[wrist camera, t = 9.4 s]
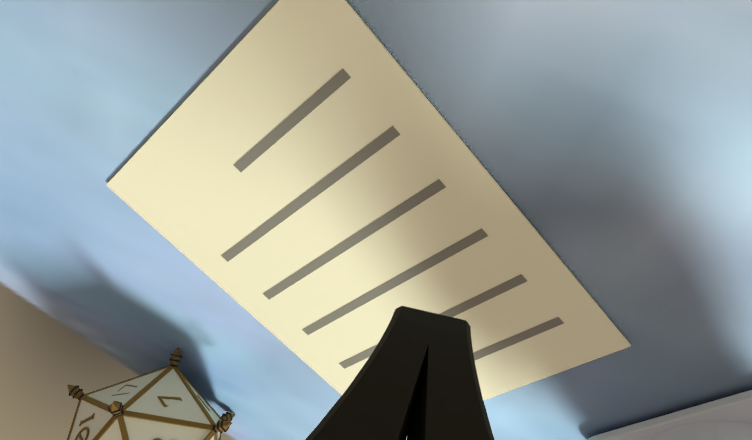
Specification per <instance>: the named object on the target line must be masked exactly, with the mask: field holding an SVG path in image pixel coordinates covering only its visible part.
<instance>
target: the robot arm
mask: <svg viewBox="0 0 752 440" xmlns="http://www.w3.org/2000/svg"><path fill="white" fill-rule="evenodd" d="M406 437H407V440H494V437H493V434H492V431H491V427H490V423H489V420H488V416H487V412H486V409H485V405H484V402H483V398H482V394H481V389H480V385H479V380H478V376H477V371H476V366H475V361H474V355H473V348H472V340H471V326H470V325H469V324H468V322H467V321H466V320H462V319H458V318H454V317H449V316H445V315H441V314H436V313H432V312H428V311H423V310H419V309H414V308H410V307H406V306H400V307H398V308H396V309H395V311H394V314H393V316H392V319H391V321H390V323H389V325H388V327H387V329H386V331H385V332H384V334H383V336H382V338H381V339H380V341H379V343H378V344H377V346H376V347H375V349H374V351H373V352H372V354H371V355H370V357H369V359H368V360H367V361H366V363H365V364H364V366H363V367H362V369H361V370H360V371H359V373H358V374H357V376H356V377H355V378H354V380H353V381H352V383H351V384H350V386H349V387H348V388H347V390H346V391H345V392H344V394H343V395H342V396H341V397H340V399H339V400H338V401H337V402H336V404H335V405H334V406H333V407H332V408H331V410H330V411H329V412H328V413H327V415H326V416H325V417H324V418H323V420H322V421H321V422H320V423H319V425H318V426H317V427H316V428H315V429H314V430H313V432H312V433H311V434H310V435H309V436H308V437H307V438H306V440H406ZM588 440H752V390H749V391H746V392H742V393H739V394H735V395H732V396H728V397H725V398H722V399H718V400H715V401H711V402H708V403H704V404H701V405H698V406H694V407H691V408H687V409H684V410H680V411H677V412H674V413H670V414H667V415H663V416H660V417H656V418H653V419H650V420H646V421H643V422H639V423H636V424H632V425H629V426H626V427H622V428H619V429H615V430H612V431H608V432H605V433H602V434H598V435H595V436H592V437H590V438H588Z"/></svg>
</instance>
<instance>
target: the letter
mask: <svg viewBox="0 0 752 440" xmlns="http://www.w3.org/2000/svg"><path fill="white" fill-rule="evenodd" d="M107 186H108V187H109V188H110V189H111V190H112V191H113V192H115V193H116V194H117V195H118V196H119V197H120V198H121V199H122V200H123V201H125V202H126V203H127V204H128V205H129V206H130V207H131V208H132V209H134V210H135V211H136V212H137V213H138V214H139V215H140V216H141V217H143V218H144V219H145V220H146V221H147V222H148V223H149V224H150V225H152V226H153V227H154V228H155V229H156V230H157V231H158V232H159V233H160V234H162V235H163V236H164V237H165V238H166V239H167V240H168V241H169V242H171V243H172V244H173V245H174V246H175V247H176V248H177V249H178V250H180V251H181V252H182V253H183V254H184V255H185V256H186V257H187V258H189V259H190V260H191V261H192V262H193V263H194V264H195V265H196V266H197V267H199V268H200V269H201V270H202V271H203V272H204V273H205V274H206V275H208V276H209V277H210V278H211V279H212V280H213V281H214V282H215V283H217V284H218V285H219V286H220V287H221V288H222V289H223V290H224V291H226V292H227V293H228V294H229V295H230V296H231V297H232V298H233V299H234V300H236V301H237V302H238V303H239V304H240V305H241V306H242V307H243V308H245V309H246V310H247V311H248V312H249V313H250V314H251V315H252V316H254V317H255V318H256V319H257V320H258V321H259V322H260V323H261V324H263V325H264V326H265V327H266V328H267V329H268V330H269V331H270V332H271V333H273V334H274V335H275V336H276V337H277V338H278V339H279V340H280V341H282V342H283V343H284V344H285V345H286V346H287V347H288V348H289V349H291V350H292V351H293V352H294V353H295V354H296V355H297V356H298V357H300V358H301V359H302V360H303V361H304V362H305V363H306V364H307V365H308V366H310V367H311V368H312V369H313V370H314V371H315V372H316V373H317V374H319V375H320V376H321V377H322V378H323V379H324V380H325V381H326V382H328V383H329V384H330V385H331V386H332V387H333V388H334V389H335V390H337V391H338V392H339V393H340V394H341V395H343V394H344V392H345V391H346V390H347V388H348V387H349V386H350V384H351V383H352V381H353V380H354V378H355V377H356V376H357V374H358V373H359V371H360V370H361V369H362V367H363V366H364V364H365V363H366V361H367V360H368V359H369V357H370V355H371V354H372V352H373V351H374V349H375V347H376V346H377V344H378V343H379V341H380V339H381V338H382V336H383V334H384V332H385V331H386V329H387V327H388V325H389V323H390V321H391V319H392V316H393V314H394V311H395V309H396V308H398V307H400V306H406V307H410V308H414V309H419V310H423V311H428V312H432V313H436V314H441V315H445V316H449V317H454V318H458V319H462V320H466V321H467V322H468V324H469V325H470V326H471V340H472V348H473V355H474V361H475V366H476V371H477V376H478V380H479V385H480V389H481V394H482V398H483V401H484V400H486V399H489V398H492V397H495V396H497V395H500V394H503V393H506V392H508V391H511V390H514V389H516V388H519V387H522V386H525V385H527V384H530V383H533V382H535V381H538V380H541V379H544V378H546V377H549V376H552V375H554V374H557V373H560V372H563V371H565V370H568V369H571V368H574V367H576V366H579V365H582V364H584V363H587V362H590V361H593V360H595V359H598V358H601V357H603V356H606V355H609V354H612V353H614V352H617V351H620V350H622V349H625V348H628V347H631V344H630V343H629V342H628V341H627V339H626V338H625V337H624V336H623V335H622V333H621V332H620V331H619V330H618V329H617V327H616V326H615V325H614V324H613V323H612V321H611V320H610V319H609V318H608V317H607V315H606V314H605V313H604V312H603V310H602V309H601V308H600V307H599V306H598V304H597V303H596V302H595V301H594V300H593V298H592V297H591V296H590V295H589V294H588V292H587V291H586V290H585V289H584V287H583V286H582V285H581V284H580V283H579V281H578V280H577V279H576V278H575V277H574V275H573V274H572V273H571V272H570V271H569V269H568V268H567V267H566V266H565V264H564V263H563V262H562V261H561V260H560V258H559V257H558V256H557V255H556V254H555V252H554V251H553V250H552V249H551V248H550V246H549V245H548V244H547V243H546V241H545V240H544V239H543V238H542V237H541V235H540V234H539V233H538V232H537V231H536V229H535V228H534V227H533V226H532V225H531V223H530V222H529V221H528V220H527V218H526V217H525V216H524V215H523V214H522V212H521V211H520V210H519V209H518V208H517V206H516V205H515V204H514V203H513V202H512V200H511V199H510V198H509V197H508V195H507V194H506V193H505V192H504V191H503V189H502V188H501V187H500V186H499V185H498V183H497V182H496V181H495V180H494V179H493V177H492V176H491V175H490V174H489V172H488V171H487V170H486V169H485V168H484V166H483V165H482V164H481V163H480V162H479V160H478V159H477V158H476V157H475V156H474V154H473V153H472V152H471V151H470V149H469V148H468V147H467V146H466V145H465V143H464V142H463V141H462V140H461V139H460V137H459V136H458V135H457V134H456V133H455V131H454V130H453V129H452V128H451V127H450V125H449V124H448V123H447V122H446V120H445V119H444V118H443V117H442V116H441V114H440V113H439V112H438V111H437V110H436V108H435V107H434V106H433V105H432V104H431V102H430V101H429V100H428V99H427V97H426V96H425V95H424V94H423V93H422V91H421V90H420V89H419V88H418V87H417V85H416V84H415V83H414V82H413V81H412V79H411V78H410V77H409V76H408V74H407V73H406V72H405V71H404V70H403V68H402V67H401V66H400V65H399V64H398V62H397V61H396V60H395V59H394V58H393V56H392V55H391V54H390V53H389V51H388V50H387V49H386V48H385V47H384V45H383V44H382V43H381V42H380V41H379V39H378V38H377V37H376V36H375V35H374V33H373V32H372V31H371V30H370V28H369V27H368V26H367V25H366V24H365V22H364V21H363V20H362V19H361V18H360V16H359V15H358V14H357V13H356V12H355V10H354V9H353V8H352V7H351V5H350V4H349V3H348V2H347V1H346V0H279V1H278V2H277V3H276V4H275V5H274V6H273V7H272V8H271V10H270V11H269V12H268V13H267V14H266V15H265V16H264V17H263V18H262V19H261V20H260V21H259V22H258V23H257V24H256V26H255V27H254V28H253V29H252V30H251V31H250V32H249V33H248V34H247V35H246V36H245V37H244V38H243V39H242V40H241V42H240V43H239V44H238V45H237V46H236V47H235V48H234V49H233V50H232V51H231V52H230V53H229V54H228V55H227V56H226V58H225V59H224V60H223V61H222V62H221V63H220V64H219V65H218V66H217V67H216V68H215V69H214V70H213V71H212V72H211V74H210V75H209V76H208V77H207V78H206V79H205V80H204V81H203V82H202V83H201V84H200V85H199V86H198V87H197V89H196V90H195V91H194V92H193V93H192V94H191V95H190V96H189V97H188V98H187V99H186V100H185V101H184V102H183V103H182V105H181V106H180V107H179V108H178V109H177V110H176V111H175V112H174V113H173V114H172V115H171V116H170V117H169V118H168V119H167V121H166V122H165V123H164V124H163V125H162V126H161V127H160V128H159V129H158V130H157V131H156V132H155V133H154V134H153V135H152V137H151V138H150V139H149V140H148V141H147V142H146V143H145V144H144V145H143V146H142V147H141V148H140V149H139V150H138V151H137V153H136V154H135V155H134V156H133V157H132V158H131V159H130V160H129V161H128V162H127V163H126V164H125V165H124V166H123V167H122V169H121V170H120V171H119V172H118V173H117V174H116V175H115V176H114V177H113V178H112V179H111V180H110V181H109V182H108V183H107Z"/></svg>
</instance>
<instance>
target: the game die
mask: <svg viewBox="0 0 752 440" xmlns="http://www.w3.org/2000/svg"><path fill="white" fill-rule="evenodd" d="M171 355H172V356H171V359H170V366H167V367H164V368H161V369H158V370H155V371H152V372H149V373H146V374H143V375H140V376H138V377H135V378H132V379H129V380H126V381H123V382H120V383H117V384H114V385H111V386H108V387H105V388H102V389H99V390H96V391H93V392H90V393H88V394H84V393H83V391H82V389H80V388H79V386H72V385H68V389H69V396H70V395H71V396H73V398H77V399H78V400H79V403H78V406H77V409H76V412H75V415H74V419H73V422H72V425H71V428H70V431H69V435H68V438H67V440H220V439H221V433H222V432H223V431H224V432H226V431H227V430H228V429H229V426H230V425H231V424H232V423H231V420H232V418H233V417H234V415H235V414H232V413H229V412H226V414H223V415H222V416H221V417H220V416H219V415H218V414H217V413H216V412H215V410H214V409H213V408H212V407H211V406H210V405H209V403H208V402H207V401H206V400H205V399H204V398H203V397H202V395H201V394H200V393H199V392H198V391H197V390H196V389H195V387H194V386H193V385H192V384H191V383H190V382H189V381H188V379H187V378H186V377H185V376H184V375H183V374H182V372H181V371H180V370H179V369H178V368H177V364H178V363H179V362H180V358H181V357H182V356H181V354H180V350H179V348H178V349H177V350H176V351H175V352H174V353H173V354H171Z"/></svg>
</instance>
